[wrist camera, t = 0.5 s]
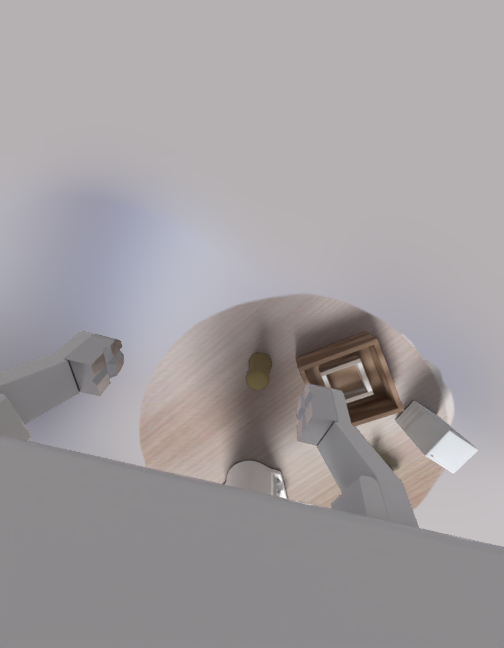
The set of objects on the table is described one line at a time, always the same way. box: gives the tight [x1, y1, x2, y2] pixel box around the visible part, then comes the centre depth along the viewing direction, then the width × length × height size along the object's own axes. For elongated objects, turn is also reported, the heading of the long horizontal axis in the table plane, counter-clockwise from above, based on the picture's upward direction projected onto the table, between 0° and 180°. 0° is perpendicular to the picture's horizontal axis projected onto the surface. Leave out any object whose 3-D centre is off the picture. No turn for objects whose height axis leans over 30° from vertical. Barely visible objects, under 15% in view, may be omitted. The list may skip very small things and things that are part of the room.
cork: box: [246, 353, 272, 390], centre depth 56 cm, size 6×6×11 cm
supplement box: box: [395, 400, 478, 473], centre depth 54 cm, size 7×7×13 cm
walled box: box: [296, 332, 404, 426], centre depth 56 cm, size 18×18×7 cm
